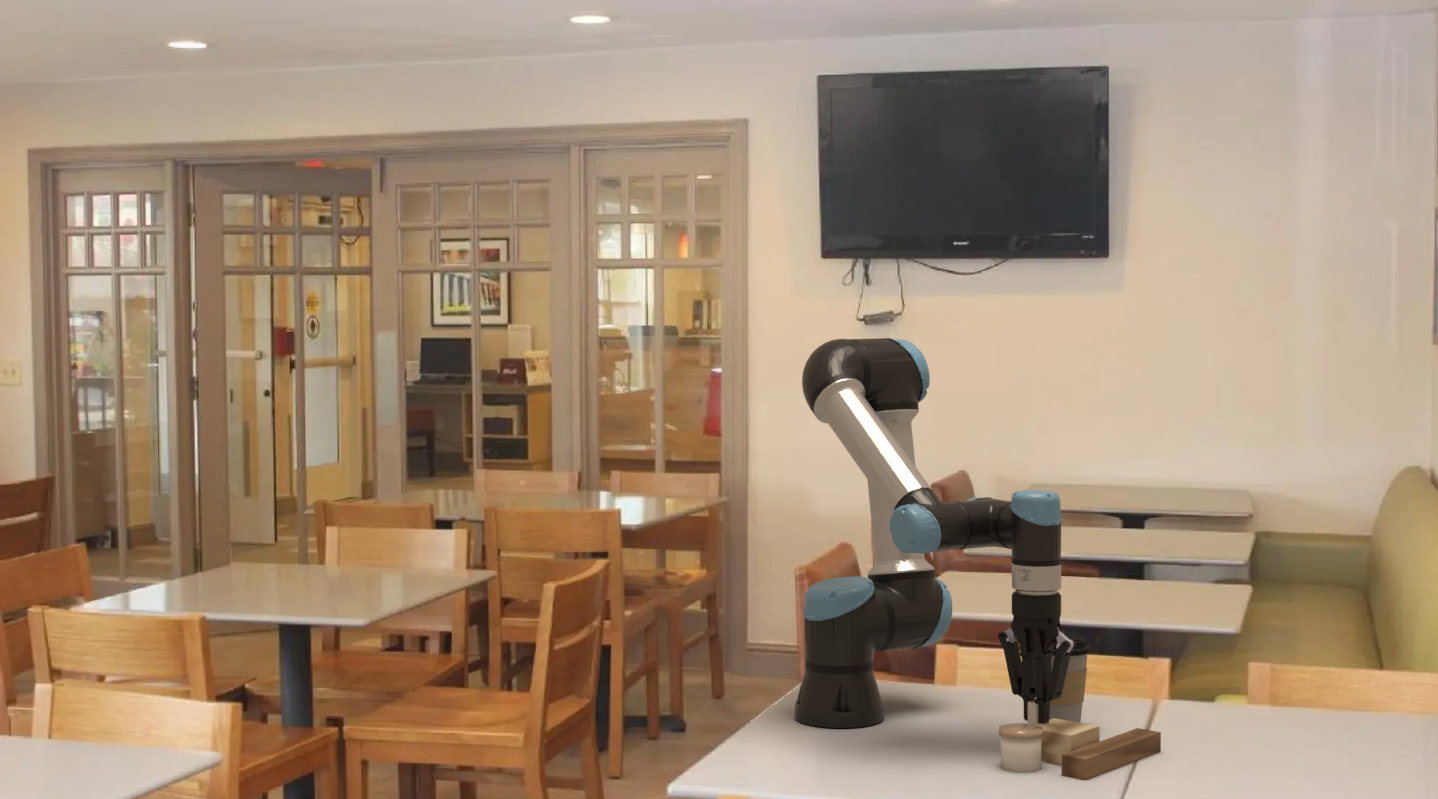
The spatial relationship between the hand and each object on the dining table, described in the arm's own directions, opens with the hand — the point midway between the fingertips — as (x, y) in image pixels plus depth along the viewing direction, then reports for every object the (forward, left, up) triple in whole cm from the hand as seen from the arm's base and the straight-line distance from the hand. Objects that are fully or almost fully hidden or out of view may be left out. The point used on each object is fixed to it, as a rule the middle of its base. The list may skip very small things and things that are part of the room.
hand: (1036, 742), depth 250 cm
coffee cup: (-5, +15, -2) cm, 16 cm away
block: (+5, 0, -2) cm, 5 cm away
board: (+12, +2, -1) cm, 12 cm away
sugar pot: (+3, -9, -2) cm, 10 cm away
